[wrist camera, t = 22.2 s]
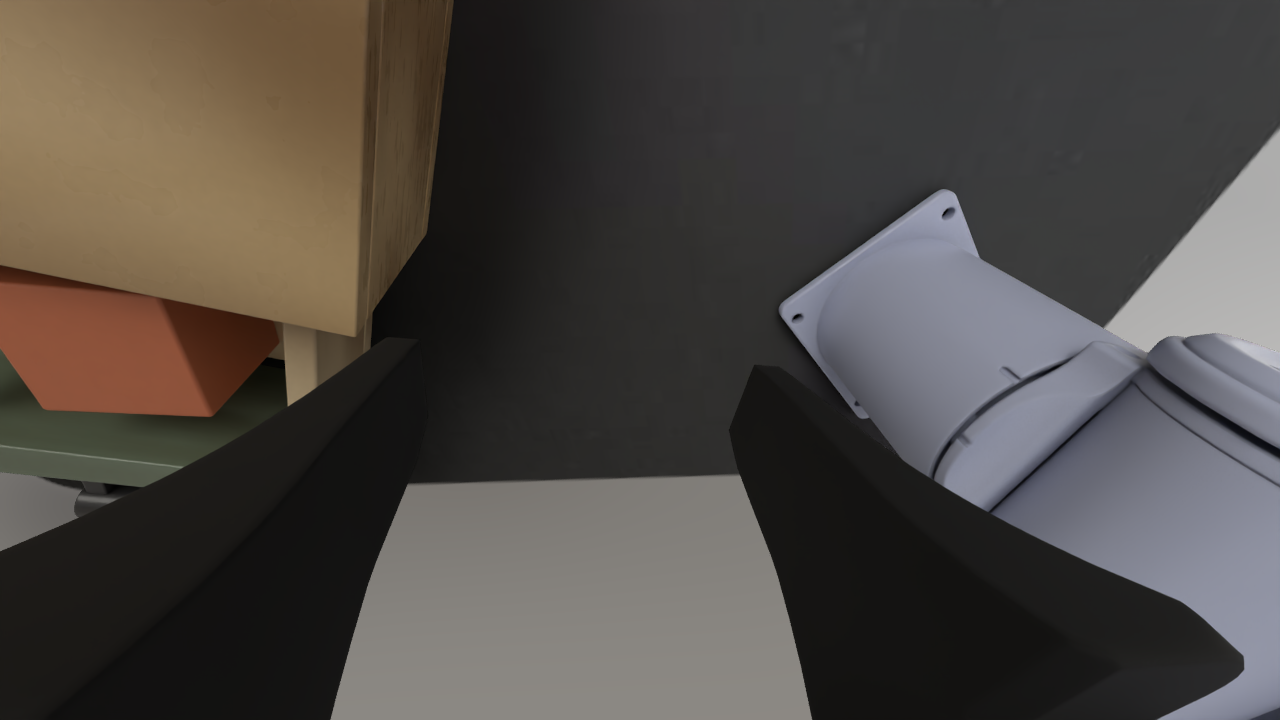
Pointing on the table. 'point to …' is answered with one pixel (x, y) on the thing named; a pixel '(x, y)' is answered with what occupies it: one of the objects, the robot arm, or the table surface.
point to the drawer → (158, 421)
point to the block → (124, 347)
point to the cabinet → (222, 148)
